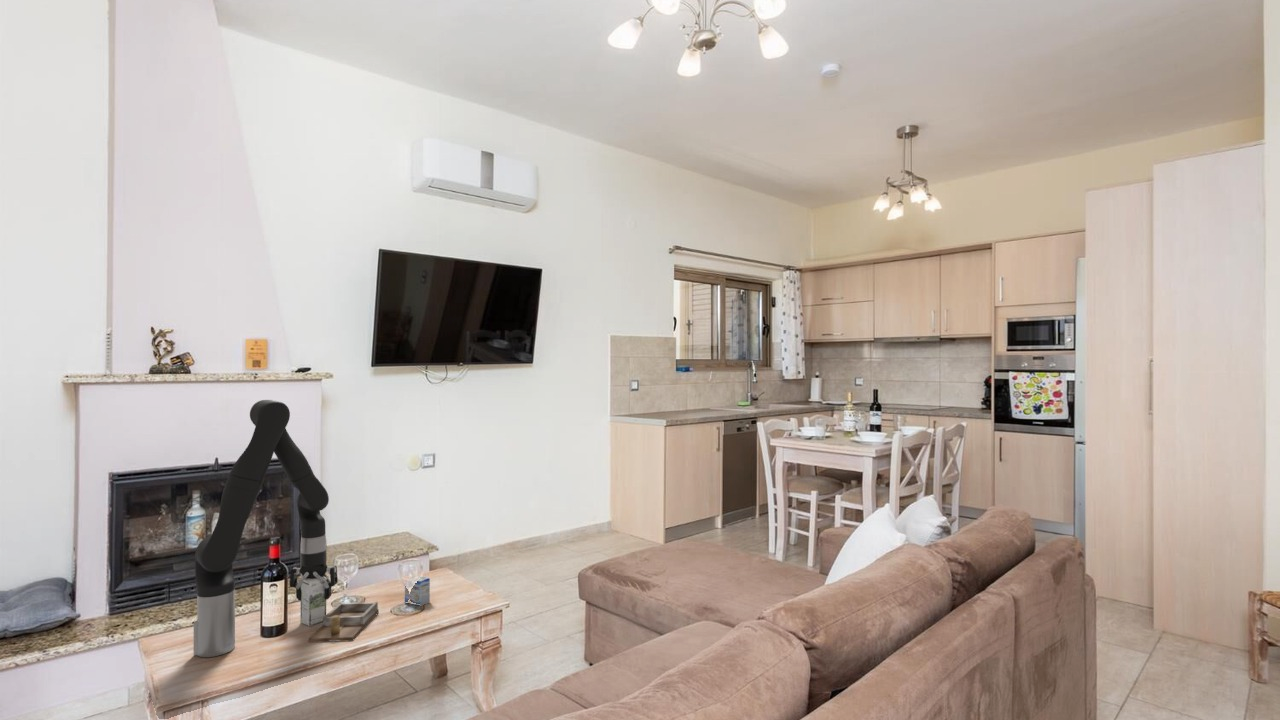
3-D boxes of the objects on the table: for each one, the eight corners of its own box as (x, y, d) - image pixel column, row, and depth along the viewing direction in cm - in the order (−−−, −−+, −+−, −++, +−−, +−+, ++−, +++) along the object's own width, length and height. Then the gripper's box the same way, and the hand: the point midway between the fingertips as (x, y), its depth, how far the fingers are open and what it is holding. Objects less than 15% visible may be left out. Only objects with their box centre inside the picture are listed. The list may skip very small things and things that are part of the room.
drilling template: (308, 641, 189) (308, 622, 189) (339, 613, 211) (339, 595, 211) (352, 640, 190) (352, 620, 190) (378, 612, 212) (378, 594, 212)
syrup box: (317, 616, 208) (317, 573, 209) (326, 621, 205) (326, 576, 205) (300, 622, 204) (300, 578, 204) (309, 627, 200) (309, 581, 201)
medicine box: (404, 602, 220) (404, 578, 221) (414, 598, 224) (414, 574, 225) (420, 606, 217) (420, 581, 217) (430, 602, 221) (430, 577, 221)
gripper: (285, 553, 201) (285, 604, 201) (330, 552, 201) (331, 602, 201) (296, 546, 208) (297, 595, 208) (340, 545, 209) (341, 594, 209)
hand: (314, 599), depth 205 cm, fingers closed on syrup box, 8 cm apart
